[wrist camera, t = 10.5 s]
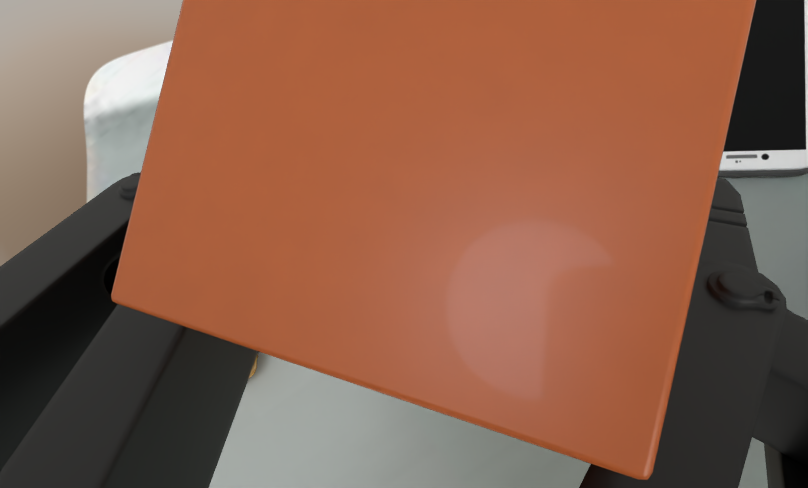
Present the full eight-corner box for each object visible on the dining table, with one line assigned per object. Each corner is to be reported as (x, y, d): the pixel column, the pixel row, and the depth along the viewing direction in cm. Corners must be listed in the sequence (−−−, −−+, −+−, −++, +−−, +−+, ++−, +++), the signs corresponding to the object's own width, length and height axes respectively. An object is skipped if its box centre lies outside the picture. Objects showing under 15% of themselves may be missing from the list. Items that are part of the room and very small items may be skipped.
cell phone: (810, -49, 30) (818, -59, 29) (813, 176, 29) (822, 173, 28) (674, -31, 32) (678, -41, 31) (672, 178, 31) (676, 175, 30)
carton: (594, 209, 20) (783, -112, 4) (568, 325, 19) (652, 487, 4) (456, 184, 21) (203, -98, 6) (432, 291, 21) (105, 302, 6)
